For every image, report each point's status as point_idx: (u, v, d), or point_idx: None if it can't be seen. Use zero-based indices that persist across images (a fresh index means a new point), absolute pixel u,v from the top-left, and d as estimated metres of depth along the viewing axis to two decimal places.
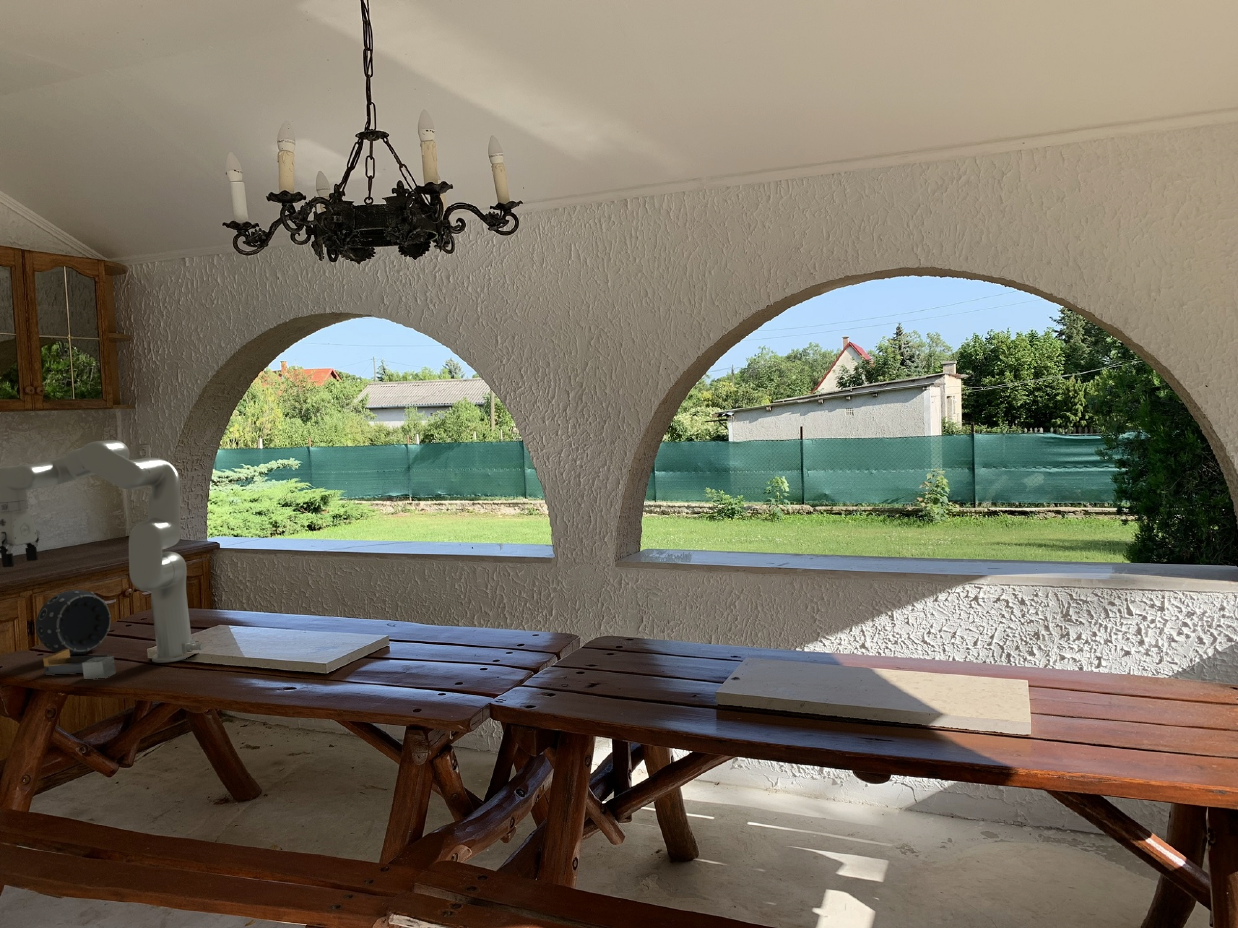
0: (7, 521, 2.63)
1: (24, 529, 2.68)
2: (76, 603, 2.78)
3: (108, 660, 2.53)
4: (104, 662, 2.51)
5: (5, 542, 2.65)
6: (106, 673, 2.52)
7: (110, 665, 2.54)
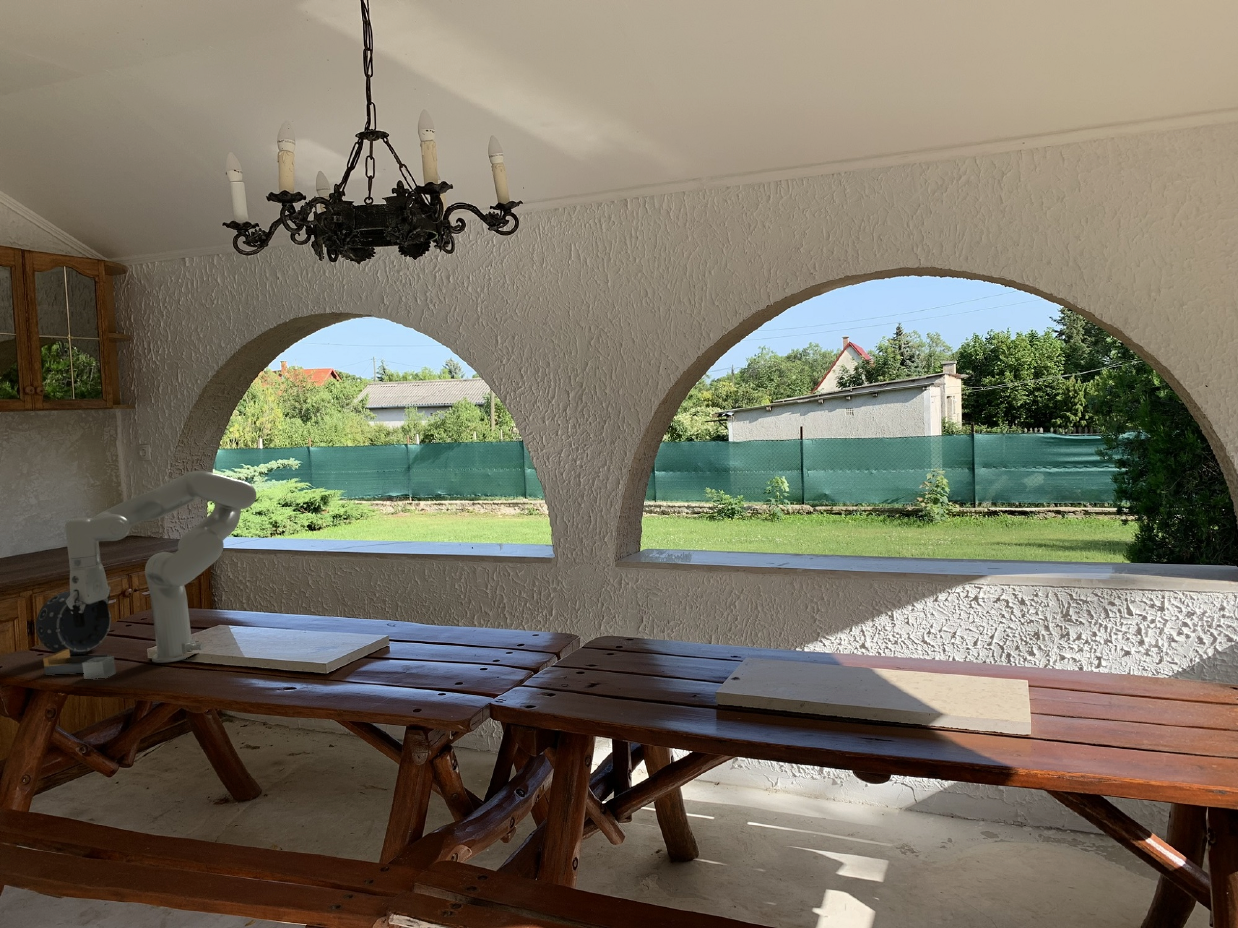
0: (80, 578, 2.46)
1: (97, 586, 2.51)
2: None
3: (108, 660, 2.53)
4: (104, 662, 2.51)
5: (77, 600, 2.48)
6: (106, 673, 2.52)
7: (110, 665, 2.54)
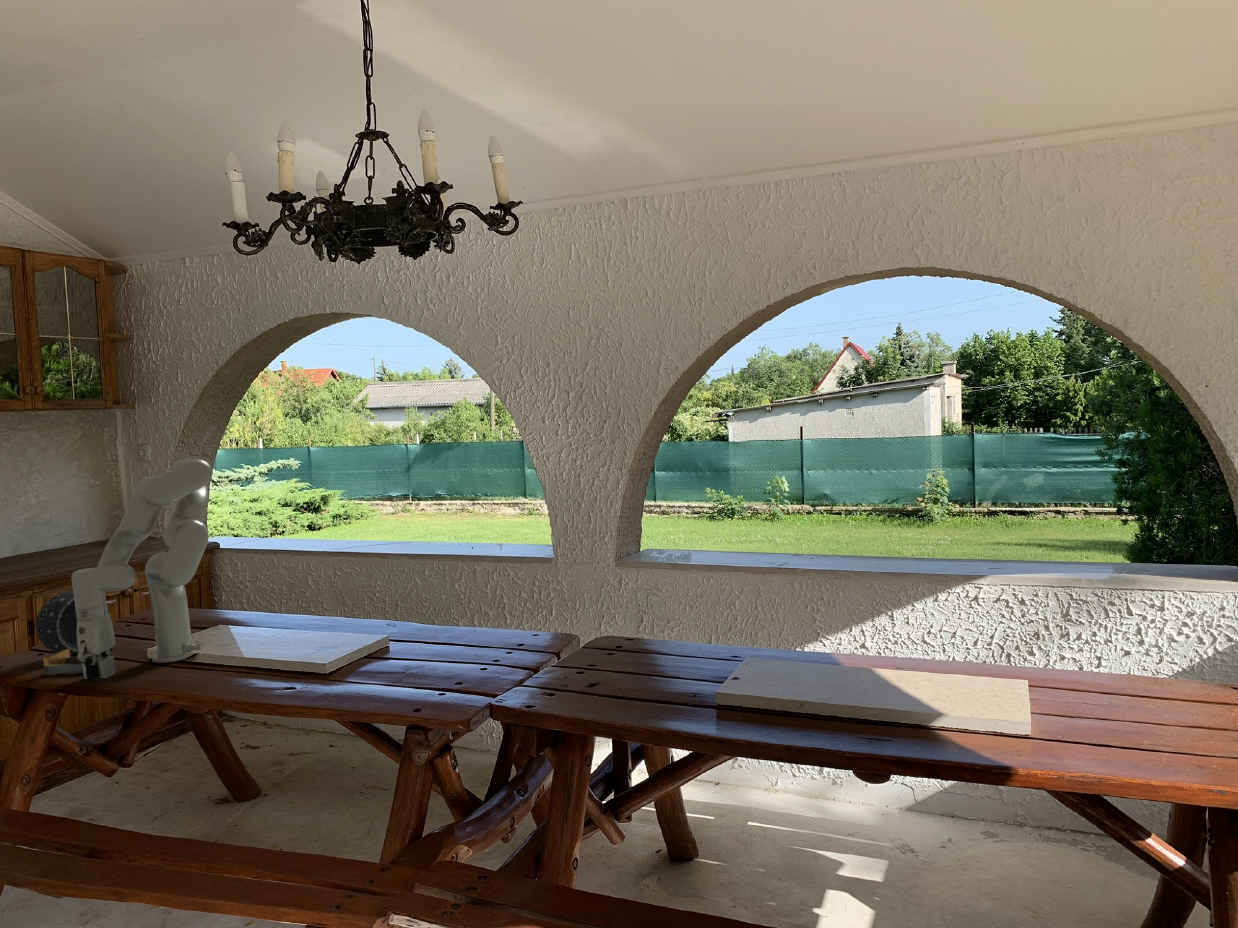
0: (87, 629, 2.47)
1: (104, 636, 2.52)
2: None
3: (108, 660, 2.53)
4: (104, 662, 2.51)
5: (86, 651, 2.50)
6: (106, 673, 2.52)
7: (110, 665, 2.54)
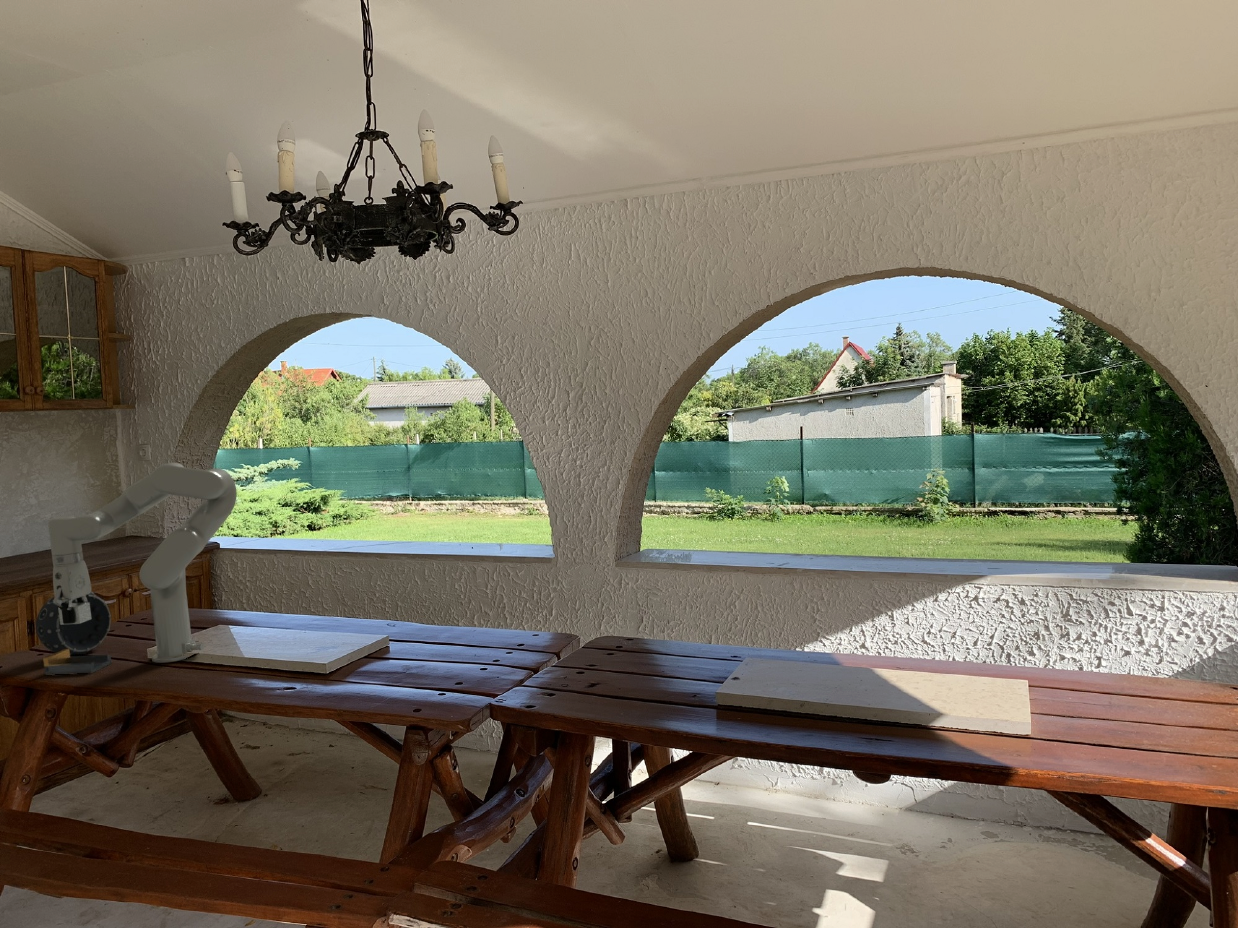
0: (63, 574, 2.55)
1: (79, 582, 2.60)
2: None
3: (84, 605, 2.61)
4: (80, 607, 2.59)
5: (62, 597, 2.58)
6: (81, 618, 2.59)
7: (86, 610, 2.61)
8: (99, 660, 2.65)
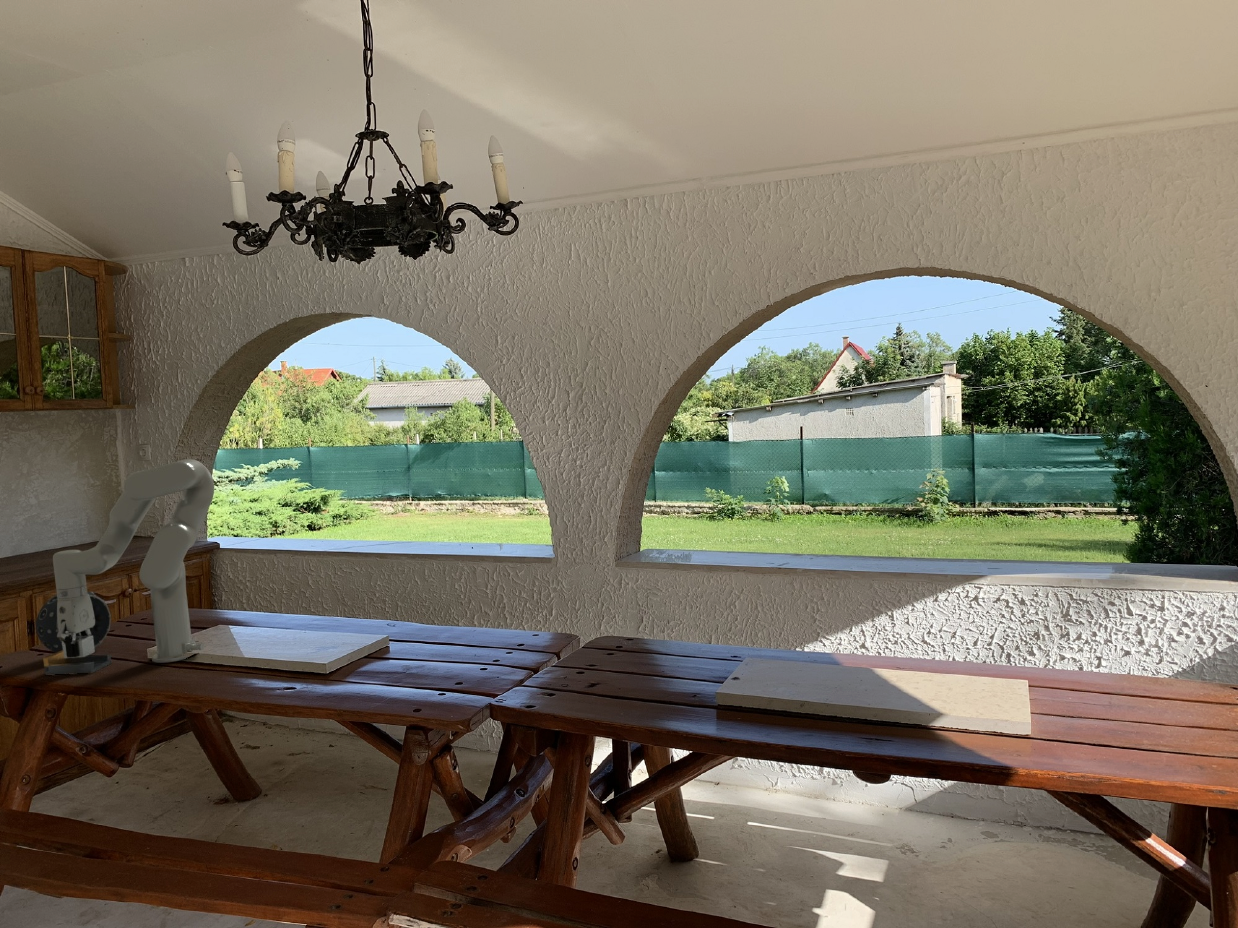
0: (67, 608, 2.56)
1: (83, 615, 2.61)
2: None
3: (87, 639, 2.61)
4: (83, 640, 2.60)
5: (66, 630, 2.59)
6: (85, 652, 2.60)
7: (89, 644, 2.62)
8: (99, 660, 2.65)
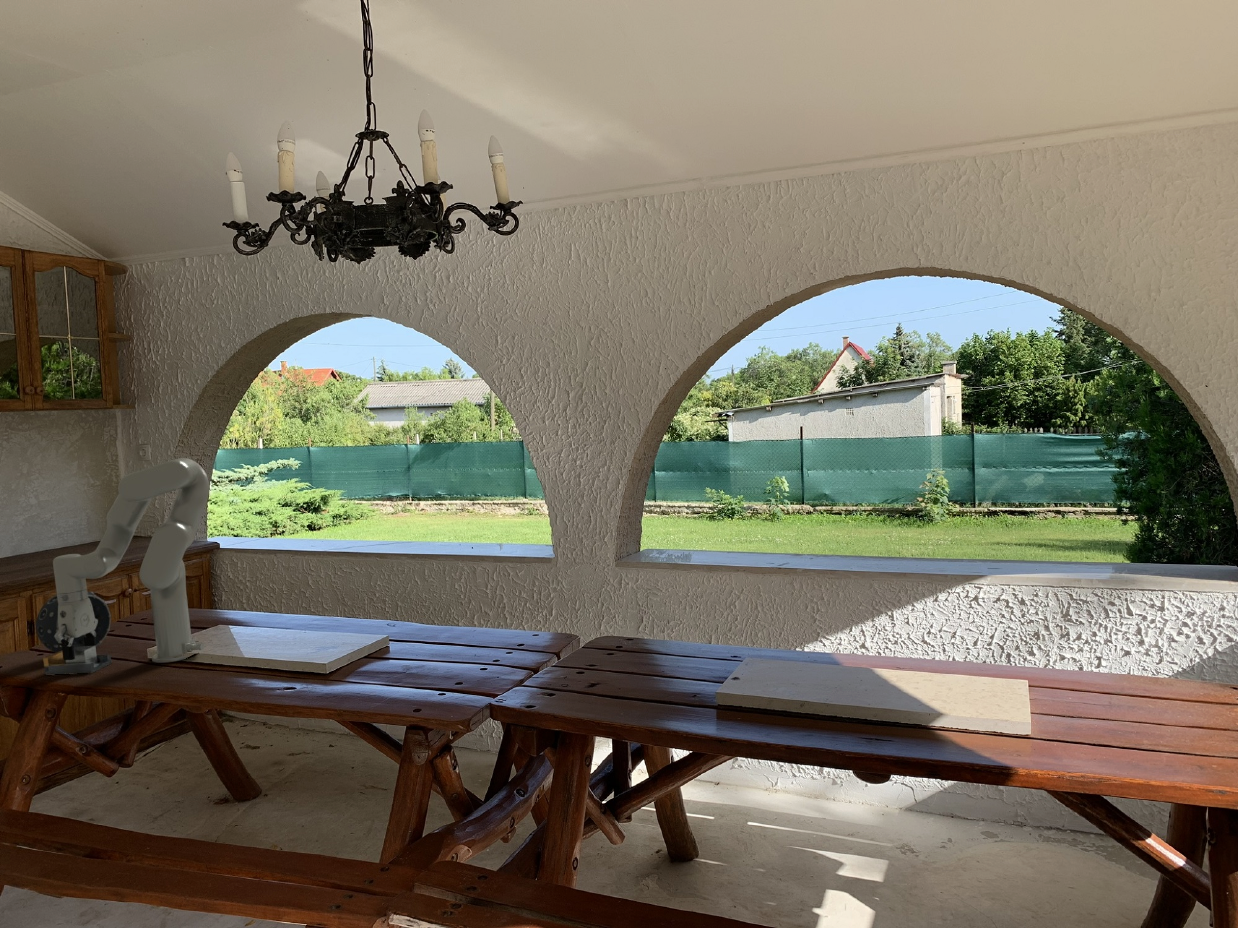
0: (67, 613, 2.56)
1: (84, 619, 2.61)
2: None
3: (90, 649, 2.62)
4: (86, 651, 2.60)
5: (65, 634, 2.58)
6: (87, 662, 2.60)
7: (92, 654, 2.62)
8: (99, 660, 2.65)
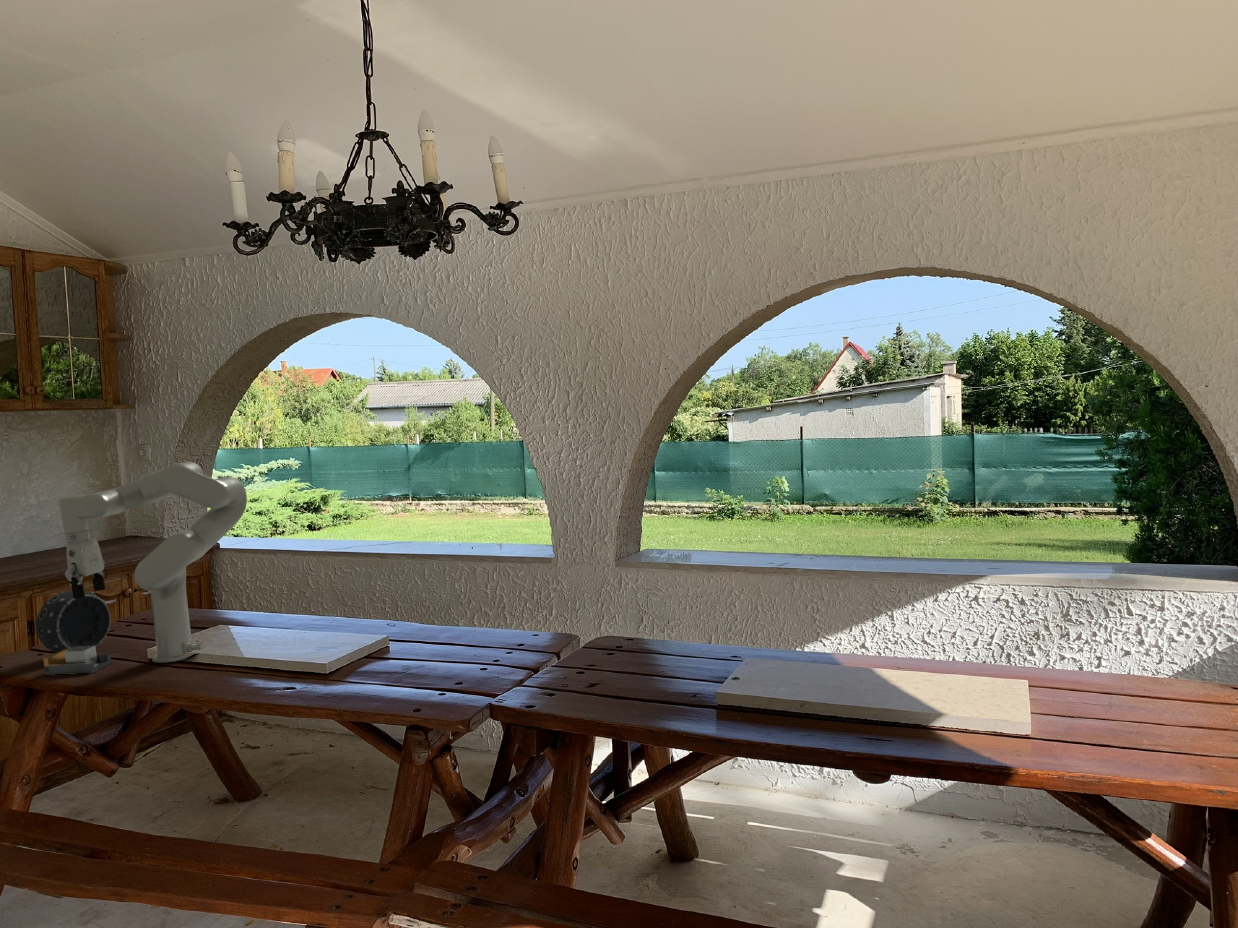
0: (76, 551, 2.59)
1: (93, 559, 2.64)
2: (76, 603, 2.78)
3: (90, 649, 2.62)
4: (86, 651, 2.60)
5: (74, 573, 2.61)
6: (87, 662, 2.60)
7: (92, 654, 2.62)
8: (99, 660, 2.65)
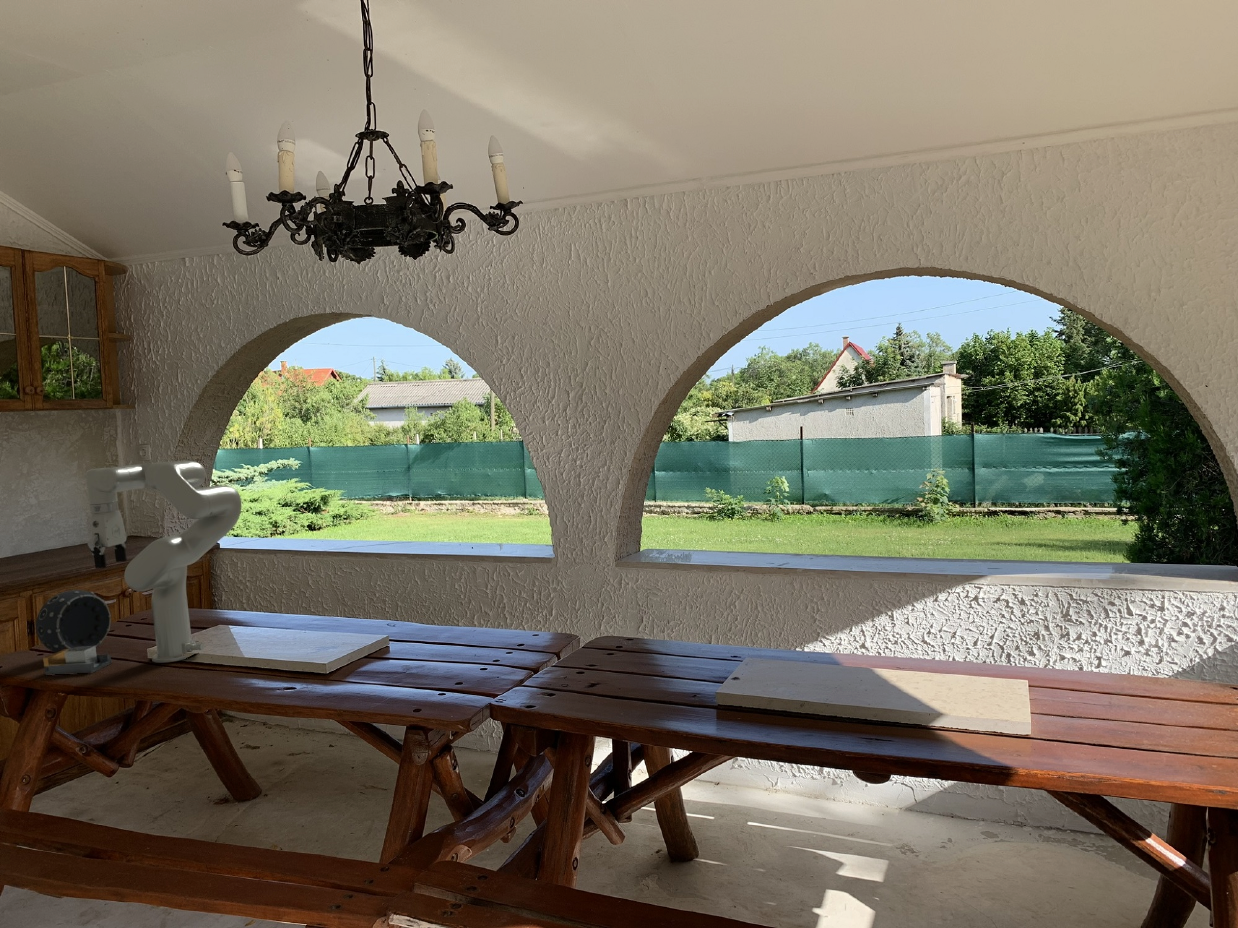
0: (100, 522, 2.67)
1: (115, 531, 2.71)
2: (76, 603, 2.78)
3: (90, 649, 2.62)
4: (86, 651, 2.60)
5: (97, 543, 2.69)
6: (87, 662, 2.60)
7: (92, 654, 2.62)
8: (99, 660, 2.65)
